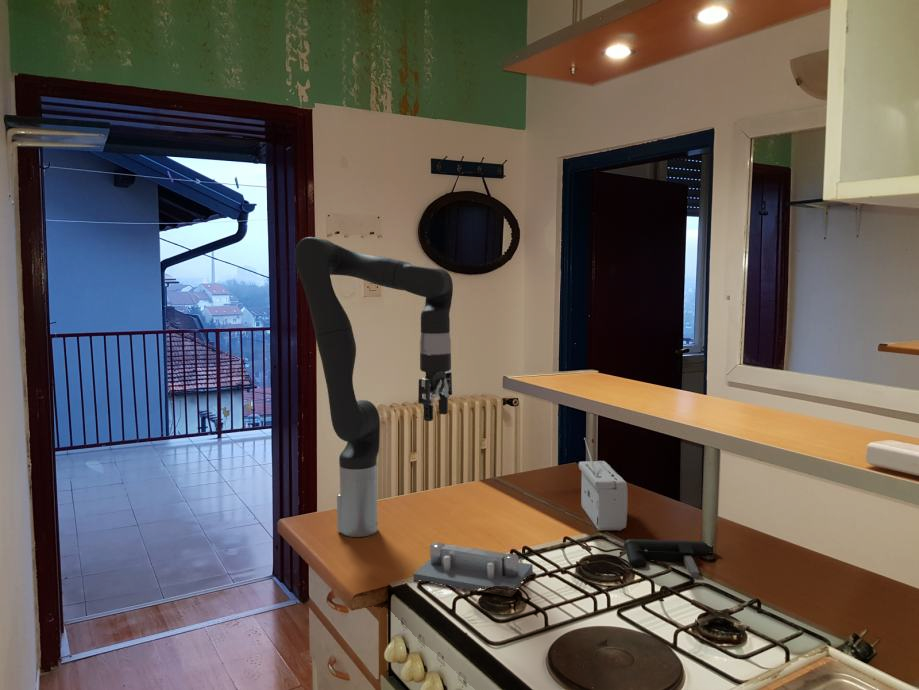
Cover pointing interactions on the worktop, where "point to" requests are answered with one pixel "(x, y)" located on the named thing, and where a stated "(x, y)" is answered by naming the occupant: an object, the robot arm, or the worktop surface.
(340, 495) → the robot arm
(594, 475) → the stereo radio cassette player
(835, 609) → the worktop surface
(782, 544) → the worktop surface
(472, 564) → the grey end-post crossbar
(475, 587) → the board
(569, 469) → the worktop surface
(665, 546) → the toy gun
